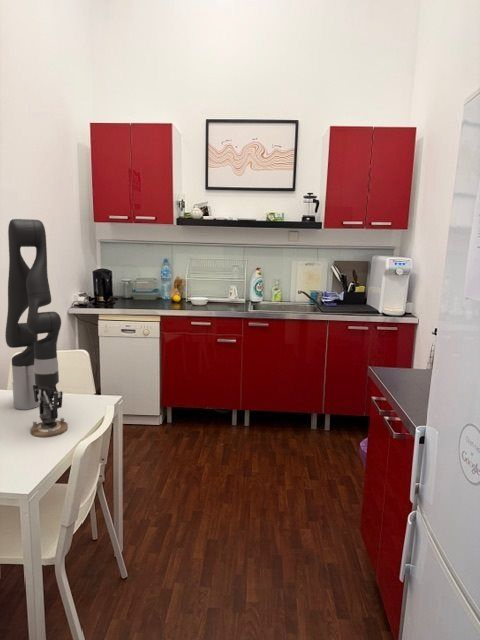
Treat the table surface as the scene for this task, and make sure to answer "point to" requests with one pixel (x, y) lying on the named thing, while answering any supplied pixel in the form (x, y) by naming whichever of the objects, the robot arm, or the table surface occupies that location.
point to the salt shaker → (47, 415)
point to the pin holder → (49, 429)
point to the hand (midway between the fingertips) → (48, 416)
